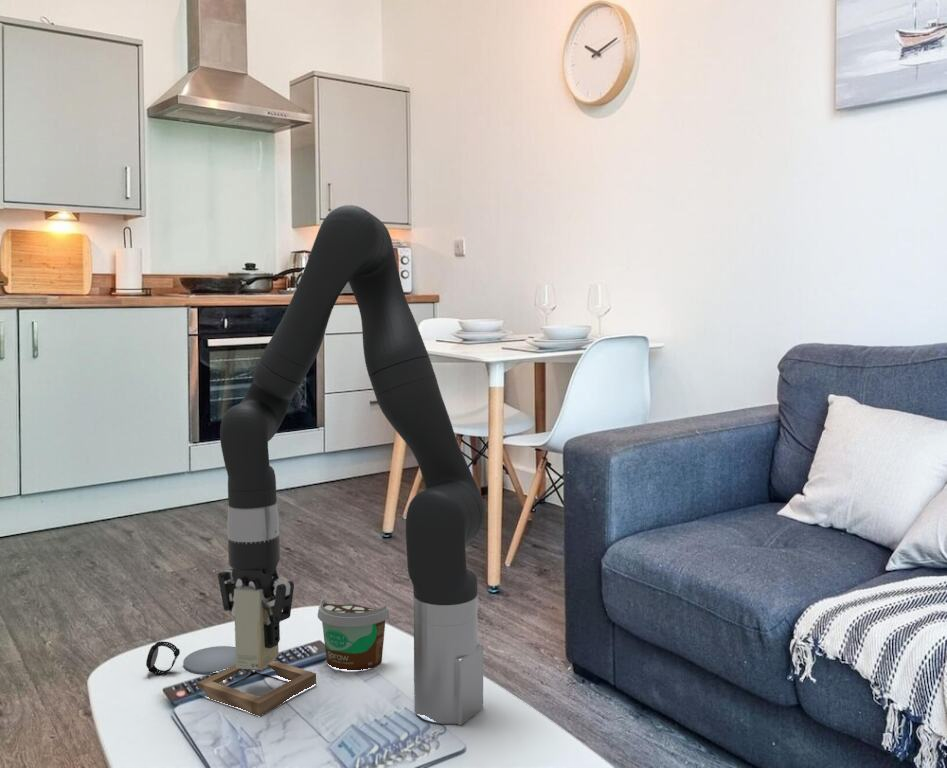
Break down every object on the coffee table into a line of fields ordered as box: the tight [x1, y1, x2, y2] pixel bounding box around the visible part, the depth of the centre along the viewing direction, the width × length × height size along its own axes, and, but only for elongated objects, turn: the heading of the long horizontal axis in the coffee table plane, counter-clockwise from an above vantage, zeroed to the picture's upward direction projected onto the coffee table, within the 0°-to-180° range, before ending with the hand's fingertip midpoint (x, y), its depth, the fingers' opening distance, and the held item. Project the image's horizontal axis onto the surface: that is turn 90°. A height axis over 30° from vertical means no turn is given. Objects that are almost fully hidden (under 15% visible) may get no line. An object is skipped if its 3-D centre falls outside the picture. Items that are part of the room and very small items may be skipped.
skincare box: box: [234, 586, 279, 670], centre depth 130 cm, size 6×4×12 cm
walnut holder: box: [196, 659, 317, 717], centre depth 131 cm, size 13×12×2 cm
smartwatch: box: [145, 641, 181, 676], centre depth 137 cm, size 4×5×5 cm
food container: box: [317, 597, 390, 670], centre depth 140 cm, size 12×6×10 cm, turn 73°
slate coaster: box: [183, 645, 236, 675], centre depth 142 cm, size 10×10×1 cm
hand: (257, 642), depth 131 cm, fingers closed on skincare box, 5 cm apart
